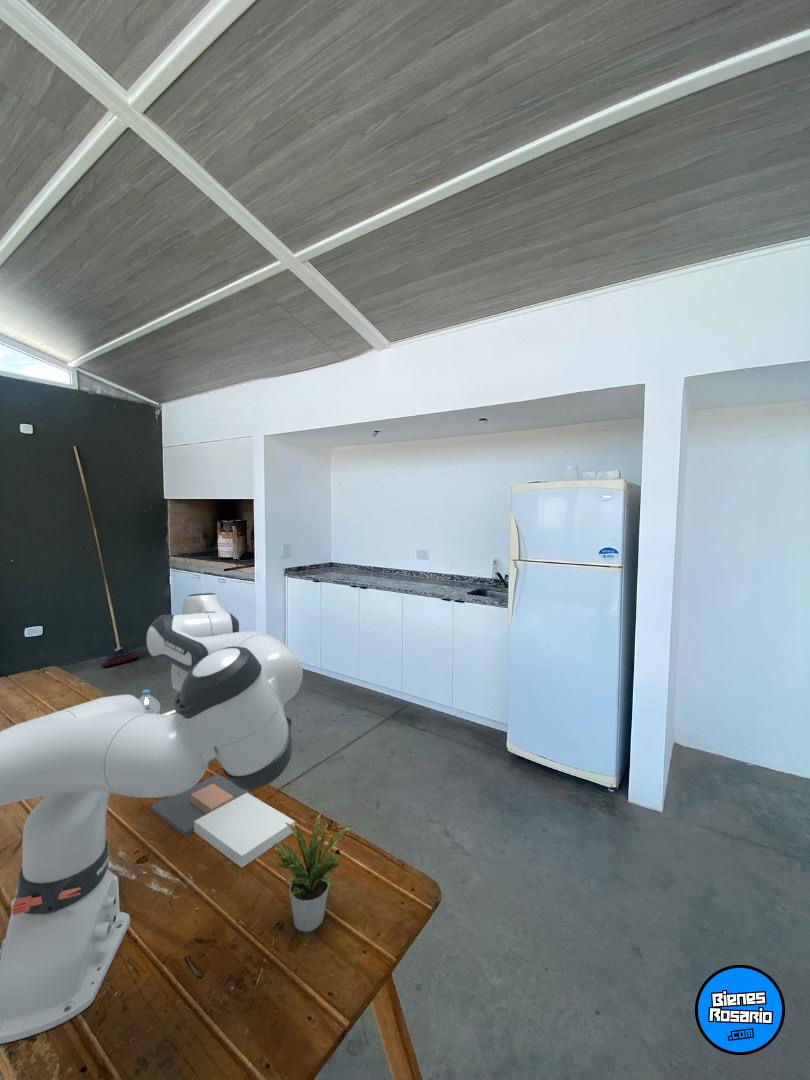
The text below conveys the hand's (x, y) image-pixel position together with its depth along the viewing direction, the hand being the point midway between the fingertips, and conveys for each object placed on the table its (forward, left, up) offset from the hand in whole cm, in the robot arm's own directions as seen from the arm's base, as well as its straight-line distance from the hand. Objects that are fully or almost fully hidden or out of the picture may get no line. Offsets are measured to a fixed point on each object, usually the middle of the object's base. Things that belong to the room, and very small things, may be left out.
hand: (198, 715), depth 109 cm
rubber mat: (+3, -1, -24) cm, 24 cm away
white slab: (-11, -11, -24) cm, 28 cm away
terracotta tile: (0, -3, -23) cm, 23 cm away
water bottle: (+18, +14, -24) cm, 33 cm away
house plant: (-39, -21, -24) cm, 50 cm away
